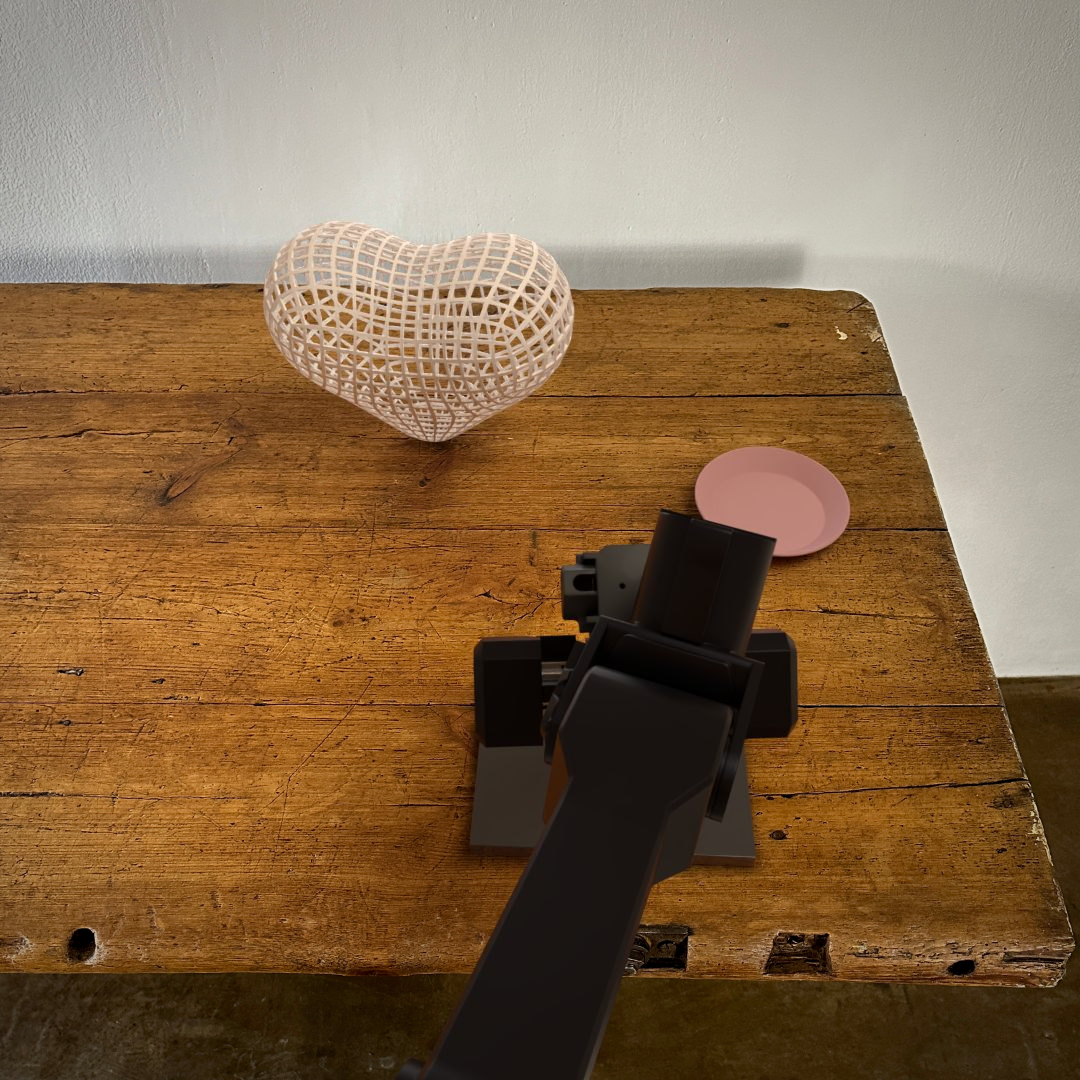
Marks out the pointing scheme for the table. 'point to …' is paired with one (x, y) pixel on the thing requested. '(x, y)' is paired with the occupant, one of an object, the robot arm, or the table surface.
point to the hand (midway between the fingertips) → (617, 663)
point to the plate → (774, 498)
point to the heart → (420, 322)
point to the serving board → (519, 796)
